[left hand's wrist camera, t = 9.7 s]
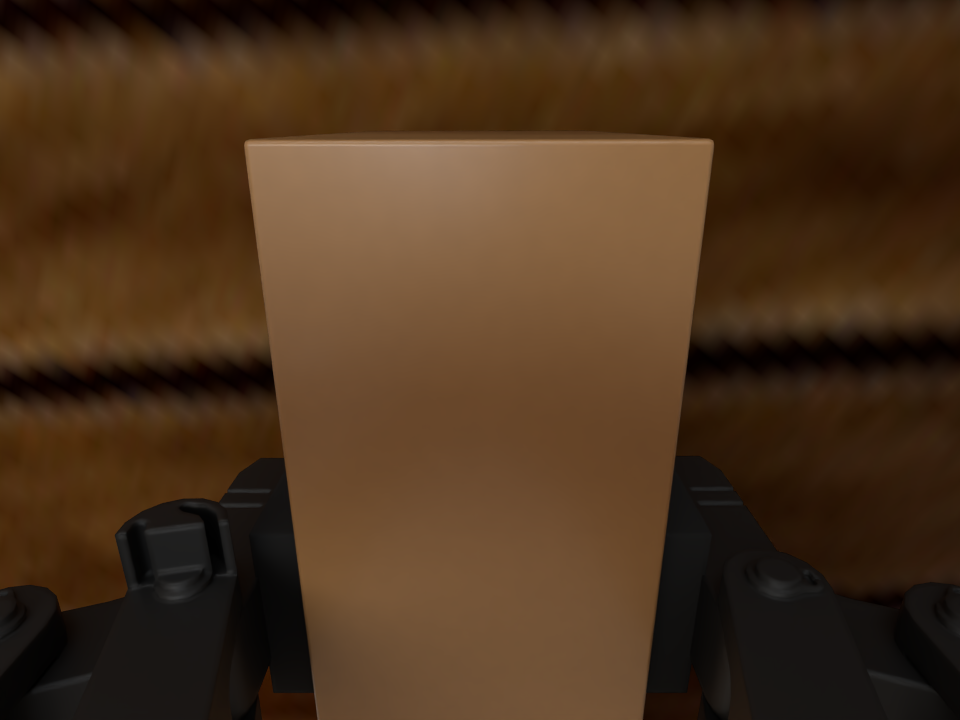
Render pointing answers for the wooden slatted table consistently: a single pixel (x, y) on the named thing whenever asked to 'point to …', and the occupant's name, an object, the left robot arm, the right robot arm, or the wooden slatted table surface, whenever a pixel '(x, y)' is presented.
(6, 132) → the wooden slatted table surface
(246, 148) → the beam
